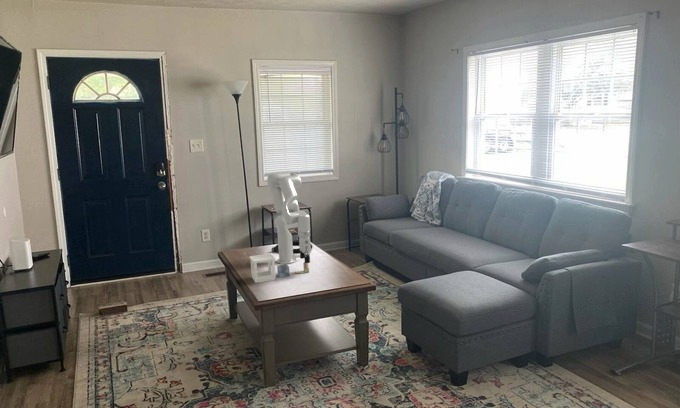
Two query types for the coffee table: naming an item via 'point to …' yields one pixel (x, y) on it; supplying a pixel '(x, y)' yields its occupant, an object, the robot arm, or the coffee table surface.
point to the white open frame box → (262, 275)
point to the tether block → (284, 272)
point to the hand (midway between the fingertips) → (305, 260)
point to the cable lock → (275, 249)
